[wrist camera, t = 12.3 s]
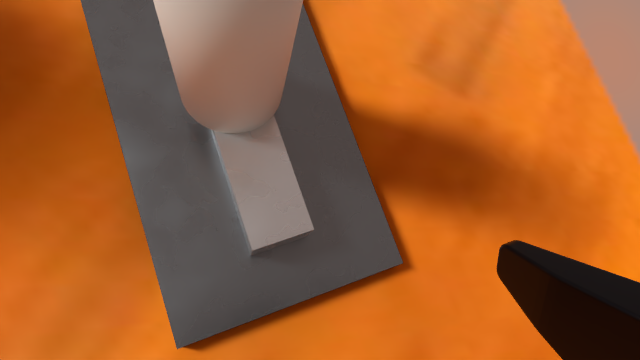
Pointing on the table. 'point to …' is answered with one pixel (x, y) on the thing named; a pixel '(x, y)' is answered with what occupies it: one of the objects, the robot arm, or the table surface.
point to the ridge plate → (202, 194)
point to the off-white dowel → (229, 57)
